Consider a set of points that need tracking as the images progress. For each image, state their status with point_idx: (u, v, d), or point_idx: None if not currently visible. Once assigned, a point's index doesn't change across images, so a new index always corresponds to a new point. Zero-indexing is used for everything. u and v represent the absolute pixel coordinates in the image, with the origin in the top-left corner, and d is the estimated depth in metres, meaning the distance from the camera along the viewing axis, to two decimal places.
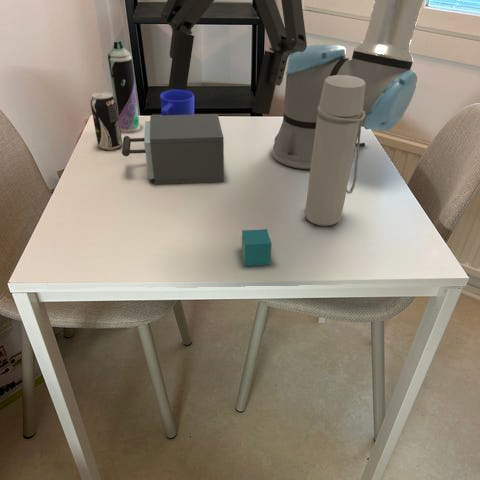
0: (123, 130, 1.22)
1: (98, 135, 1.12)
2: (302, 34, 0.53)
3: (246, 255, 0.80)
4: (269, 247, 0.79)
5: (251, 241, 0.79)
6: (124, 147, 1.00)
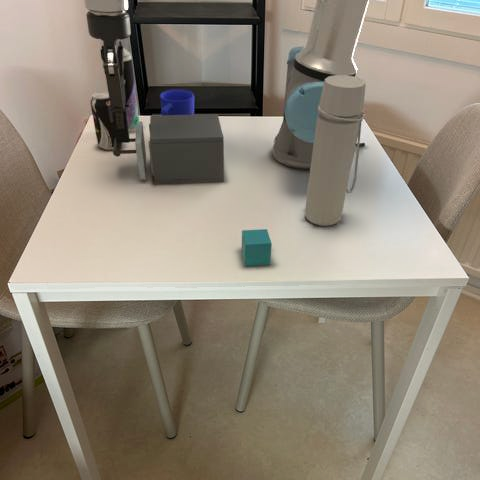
0: None
1: (98, 135, 1.12)
2: (119, 106, 0.93)
3: (246, 255, 0.80)
4: (269, 247, 0.79)
5: (251, 241, 0.79)
6: (115, 147, 0.99)
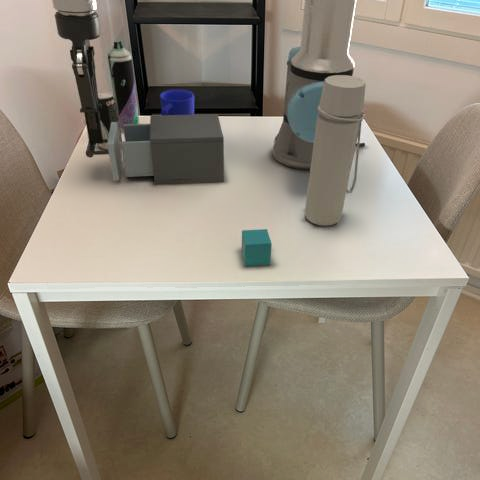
0: (123, 130, 1.22)
1: None
2: (90, 106, 0.92)
3: (246, 255, 0.80)
4: (269, 247, 0.79)
5: (251, 241, 0.79)
6: (88, 148, 0.99)
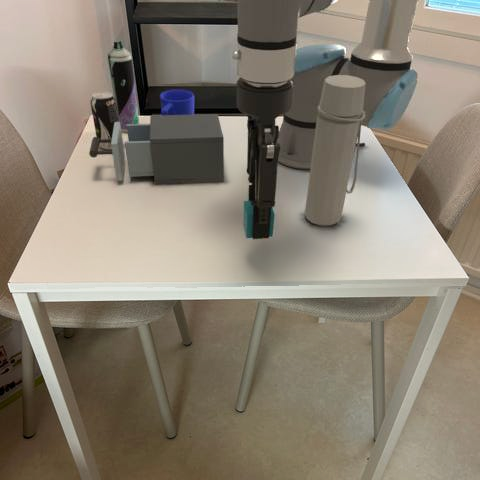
0: (123, 130, 1.22)
1: (98, 135, 1.12)
2: (269, 199, 0.69)
3: (248, 226, 0.76)
4: (272, 218, 0.76)
5: None
6: (92, 148, 0.99)
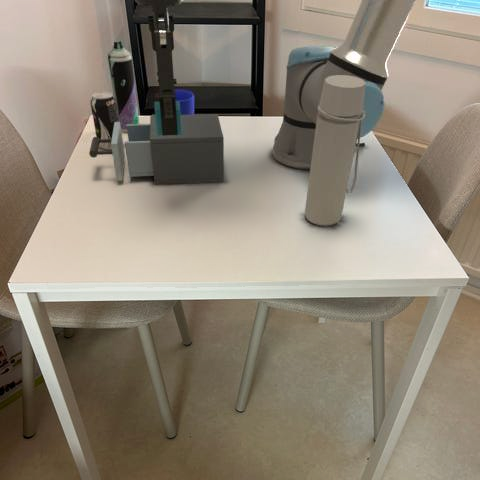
0: (123, 130, 1.22)
1: (98, 135, 1.12)
2: (169, 88, 0.77)
3: (157, 123, 0.84)
4: (178, 114, 0.83)
5: None
6: (92, 148, 0.99)
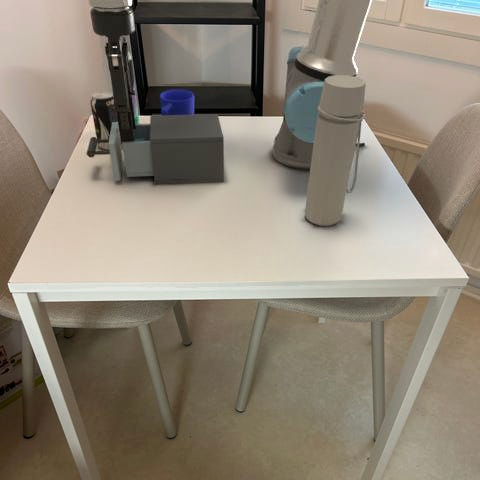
0: None
1: (98, 135, 1.12)
2: (123, 104, 0.90)
3: None
4: None
5: None
6: (89, 148, 0.99)
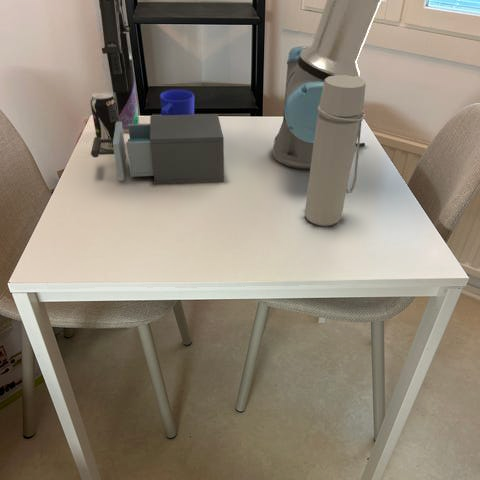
0: (123, 130, 1.22)
1: (98, 135, 1.12)
2: (114, 41, 0.80)
3: None
4: None
5: None
6: (93, 148, 0.99)
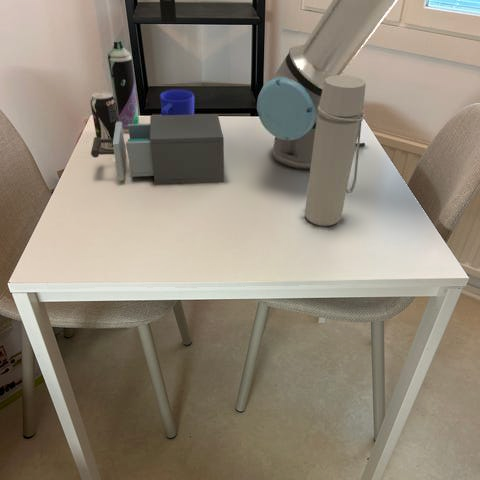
0: (123, 130, 1.22)
1: (98, 135, 1.12)
2: None
3: None
4: None
5: None
6: (93, 148, 0.99)
